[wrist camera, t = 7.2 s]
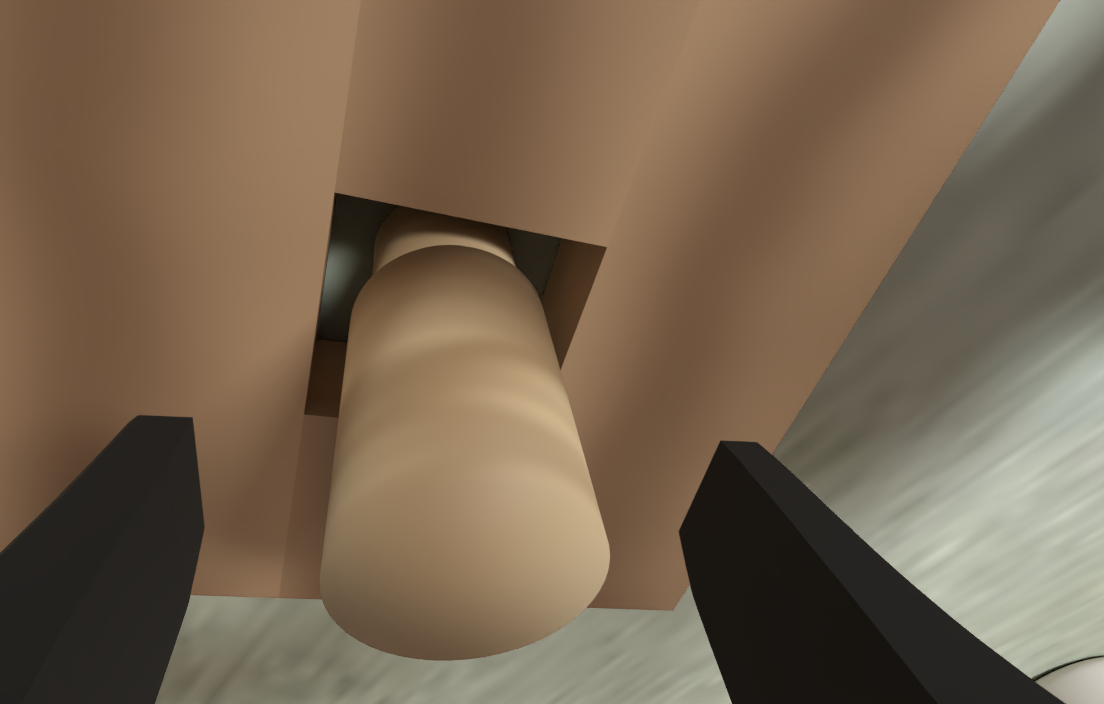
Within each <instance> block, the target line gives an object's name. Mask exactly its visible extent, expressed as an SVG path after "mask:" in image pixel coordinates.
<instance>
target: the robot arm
mask: <svg viewBox="0 0 1104 704" xmlns="http://www.w3.org/2000/svg"><path fill="white" fill-rule="evenodd" d="M204 529H205V525H204V516H203V507H202V498H201V488H200V479H199V470H198V461H197V452H196V443H195V433H194V424H193V417H174V416H151V415H138V416H136V417H135V418H133V419H132V420H131V421H129V422H128V423H127V424H126V426H125V427H124V428H123V429H122V430H121V431H120V432H119V433H118V434H117V435H116V436H115V437H114V438H113V439H112V441H111V442H110V443H109V444H108V445H107V446H106V447H105V448H104V449H103V450H102V451H101V452H100V453H99V454H98V455H97V457H96V458H95V459H94V460H93V461H92V462H91V463H90V464H89V465H88V466H87V467H86V468H85V469H84V470H83V471H82V472H81V473H80V474H79V475H78V476H77V477H76V478H75V479H74V480H73V481H72V483H71V484H70V485H69V486H68V487H67V488H66V489H65V490H64V491H63V492H62V493H61V494H60V495H59V496H58V497H57V498H56V499H55V500H54V501H53V502H52V503H51V504H50V505H49V506H48V507H47V508H46V509H45V510H44V511H43V512H42V513H41V514H40V515H39V516H37V517H36V518H35V519H34V520H33V521H32V522H31V523H30V524H29V525H28V526H27V527H26V528H25V529H24V530H23V531H22V532H21V533H20V534H19V535H18V536H17V537H16V538H15V539H14V540H13V541H12V542H11V543H10V544H9V545H8V546H7V547H6V548H4V549H3V550H2V551H1V552H0V704H155V701H156V698H157V695H158V692H159V689H160V686H161V684H162V681H163V678H164V675H165V672H166V669H167V666H168V663H169V660H170V657H171V654H172V651H173V648H174V645H175V642H176V639H177V636H178V633H179V631H180V628H181V625H182V622H183V619H184V616H185V613H186V609H187V606H188V603H189V599H190V594H191V590H192V585H193V581H194V576H195V572H196V567H197V563H198V558H199V553H200V548H201V543H202V538H203V534H204ZM679 536H680V541H681V546H682V551H683V555H684V560H685V565H686V569H687V573H688V578H689V582H690V586H691V590H692V594H693V597H694V600H695V603H696V606H697V609H698V612H699V615H700V617H701V620H702V623H703V626H704V628H705V631H706V634H707V637H708V639H709V642H710V645H711V648H712V650H713V653H714V656H715V659H716V661H717V664H718V667H719V669H720V672H721V675H722V677H723V680H724V683H725V685H726V688H727V691H728V694H729V696H730V699H731V702H732V704H1066V703H1064V702H1063V701H1061V700H1060V699H1059V698H1057V697H1056V696H1054V695H1053V694H1052V693H1050V692H1049V691H1047V690H1046V689H1044V688H1043V687H1042V686H1040V685H1039V684H1037V683H1036V682H1035V681H1033V680H1032V679H1031V678H1029V677H1028V676H1027V675H1025V674H1024V673H1023V672H1021V671H1020V670H1019V669H1017V668H1016V667H1015V666H1013V665H1012V664H1011V663H1009V662H1008V661H1007V660H1005V659H1004V658H1003V657H1001V656H1000V655H999V654H997V653H996V652H995V651H993V650H992V649H991V648H990V647H988V646H987V645H986V644H984V643H983V642H982V641H980V640H979V639H978V638H976V637H975V636H974V635H973V634H971V633H970V632H969V631H968V630H966V629H965V628H964V627H963V626H961V625H960V624H959V623H958V622H956V621H955V620H954V619H953V618H952V617H950V616H949V615H948V614H947V613H946V612H944V611H943V610H942V609H941V608H940V607H939V606H937V605H936V604H935V603H934V602H933V601H931V600H930V599H929V598H928V597H927V596H926V595H924V594H923V593H922V592H921V591H920V590H918V589H917V588H916V587H915V586H914V585H913V584H911V583H910V582H909V581H908V580H907V579H906V578H905V577H903V576H902V575H901V574H900V573H899V572H898V571H897V570H896V569H894V568H893V567H892V566H891V565H890V564H889V563H888V562H887V561H885V560H884V559H883V558H882V557H881V556H880V555H879V554H878V553H877V552H876V551H874V550H873V549H872V548H871V547H870V546H869V545H868V544H867V543H866V542H865V541H864V540H862V539H861V538H860V537H859V536H858V535H857V534H856V533H855V532H854V531H853V530H852V529H851V528H850V527H849V526H847V525H846V524H845V523H844V522H843V521H842V520H841V519H840V518H839V517H838V516H837V515H836V514H835V513H834V512H833V511H832V510H830V509H829V508H828V507H827V506H826V505H825V504H824V503H823V502H822V501H821V500H820V499H819V498H818V497H817V496H816V495H815V494H814V493H813V492H811V491H810V490H809V489H808V488H807V487H806V486H805V485H804V484H803V483H802V482H801V481H800V480H799V479H798V478H797V477H796V476H795V475H793V474H792V473H791V472H790V471H789V470H788V469H787V468H786V467H785V466H784V465H783V464H782V463H781V462H779V461H778V460H777V459H776V458H775V457H774V456H773V455H772V454H771V453H769V452H768V451H767V450H766V449H765V448H764V447H762V446H761V445H760V444H759V443H758V442H745V441H722V440H720V442H719V445H718V447H717V449H716V451H715V453H714V455H713V458H712V460H711V462H710V464H709V466H708V469H707V471H706V473H705V475H704V477H703V479H702V482H701V484H700V486H699V488H698V490H697V492H696V495H695V497H694V499H693V501H692V503H691V505H690V508H689V510H688V512H687V514H686V516H685V518H684V521H683V523H682V525H681V527H680V529H679Z"/></svg>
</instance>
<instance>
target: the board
mask: <svg viewBox="0 0 1104 704" xmlns="http://www.w3.org/2000/svg"><path fill="white" fill-rule="evenodd" d="M1059 2H1060V0H0V552H1V551H2V550H3V549H4V548H6V547H7V546H8V545H9V544H10V543H11V542H12V541H13V540H14V539H15V538H16V537H17V536H18V535H19V534H20V533H21V532H22V531H23V530H24V529H25V528H26V527H27V526H28V525H29V524H30V523H31V522H32V521H33V520H34V519H35V518H36V517H37V516H39V515H40V514H41V513H42V512H43V511H44V510H45V509H46V508H47V507H48V506H49V505H50V504H51V503H52V502H53V501H54V500H55V499H56V498H57V497H58V496H59V495H60V494H61V493H62V492H63V491H64V490H65V489H66V488H67V487H68V486H69V485H70V484H71V483H72V481H73V480H74V479H75V478H76V477H77V476H78V475H79V474H80V473H81V472H82V471H83V470H84V469H85V468H86V467H87V466H88V465H89V464H90V463H91V462H92V461H93V460H94V459H95V458H96V457H97V455H98V454H99V453H100V452H101V451H102V450H103V449H104V448H105V447H106V446H107V445H108V444H109V443H110V442H111V441H112V439H113V438H114V437H115V436H116V435H117V434H118V433H119V432H120V431H121V430H122V429H123V428H124V427H125V426H126V424H127V423H128V422H129V421H131V420H132V419H133V418H135V417H136V416H138V415H151V416H174V417H193V424H194V433H195V443H196V452H197V461H198V470H199V479H200V488H201V498H202V507H203V516H204V525H205V529H204V534H203V538H202V543H201V548H200V553H199V558H198V563H197V567H196V572H195V576H194V581H193V585H192V590H191V594H190V595H207V596H238V597H269V598H301V599H322V597H321V593H320V581H319V579H320V570H321V562H322V554H323V545H324V537H325V528H326V520H327V512H328V503H329V495H330V487H331V478H332V470H333V461H334V453H335V445H336V436H337V428H338V419H339V411H340V403H341V394H342V386H343V377H344V369H345V361H346V352H347V344H348V343H345V342H338V341H331V340H323V339H316V338H317V331H318V324H319V317H320V310H321V303H322V295H323V288H324V281H325V274H326V267H327V260H328V252H329V245H330V238H331V231H332V224H333V217H334V209H335V202H336V195H337V193H340V194H345V195H350V196H355V197H360V198H365V199H370V200H375V201H380V202H385V203H390V204H395V205H400V206H405V207H410V208H415V209H420V210H425V211H430V212H435V213H440V214H445V215H450V216H455V217H460V218H465V219H470V220H475V221H480V222H484V223H489V224H494V225H499V226H504V227H509V228H514V229H519V230H524V231H529V232H534V233H539V234H544V235H549V236H554V237H559V238H562V240H561V243H560V246H559V249H558V252H557V255H556V258H555V261H554V264H553V267H552V270H551V273H550V276H549V279H548V282H547V285H546V288H545V291H544V294H543V297H542V300H541V303H542V306H543V310H544V313H545V317H546V320H547V324H548V328H549V331H550V335H551V338H552V342H553V346H554V349H555V353H556V356H557V360H558V364H559V367H560V371H561V374H562V378H563V381H564V385H565V389H566V392H567V396H568V399H569V403H570V407H571V410H572V414H573V417H574V421H575V425H576V428H577V432H578V435H579V439H580V442H581V446H582V450H583V453H584V457H585V460H586V464H587V468H588V471H589V475H590V478H591V482H592V486H593V489H594V493H595V496H596V500H597V504H598V507H599V511H600V514H601V518H602V521H603V525H604V529H605V532H606V536H607V539H608V543H609V549H610V563H609V569H608V573H607V576H606V579H605V581H604V583H603V585H602V587H601V589H600V591H599V592H598V594H597V595H596V597H595V598H594V599H593V601H592V602H591V603H590V604H589V605H588V606H587V607H586V608H613V609H644V610H674V608H675V607H676V605H677V603H678V602H679V600H680V599H681V597H682V596H683V594H684V592H685V591H686V589H687V588H688V586H689V585H690V582H689V578H688V573H687V569H686V565H685V560H684V555H683V551H682V546H681V541H680V536H679V529H680V527H681V525H682V523H683V521H684V518H685V516H686V514H687V512H688V510H689V508H690V505H691V503H692V501H693V499H694V497H695V495H696V492H697V490H698V488H699V486H700V484H701V482H702V479H703V477H704V475H705V473H706V471H707V469H708V466H709V464H710V462H711V460H712V458H713V455H714V453H715V451H716V449H717V447H718V445H719V442H720V440H722V441H745V442H758V443H759V444H760V445H761V446H762V447H764V448H765V449H766V450H767V451H768V452H769V453H771V454H773V452H774V451H775V449H776V448H777V446H778V444H779V443H780V441H781V440H782V438H783V436H784V435H785V433H786V432H787V430H788V429H789V427H790V425H791V424H792V422H793V421H794V419H795V418H796V416H797V414H798V413H799V411H800V410H801V408H802V407H803V405H804V403H805V402H806V400H807V399H808V397H809V396H810V394H811V392H812V391H813V389H814V388H815V386H816V384H817V383H818V381H819V380H820V378H821V377H822V375H823V373H824V372H825V370H826V369H827V367H828V366H829V364H830V362H831V361H832V359H833V358H834V356H835V355H836V353H837V351H838V350H839V348H840V347H841V345H842V344H843V342H844V340H845V339H846V337H847V336H848V334H849V332H850V331H851V329H852V328H853V326H854V325H855V323H856V321H857V320H858V318H859V317H860V315H861V314H862V312H863V310H864V309H865V307H866V306H867V304H868V303H869V301H870V299H871V298H872V296H873V295H874V293H875V292H876V290H877V288H878V287H879V285H880V284H881V282H882V281H883V279H884V277H885V276H886V274H887V273H888V271H889V269H890V268H891V266H892V265H893V263H894V262H895V260H896V258H897V257H898V255H899V254H900V252H901V251H902V249H903V247H904V246H905V244H906V243H907V241H908V240H909V238H910V236H911V235H912V233H913V232H914V230H915V229H916V227H917V225H918V224H919V222H920V221H921V219H922V217H923V216H924V214H925V213H926V211H927V210H928V208H929V206H930V205H931V203H932V202H933V200H934V199H935V197H936V195H937V194H938V192H939V191H940V189H941V188H942V186H943V184H944V183H945V181H946V180H947V178H948V177H949V175H950V173H951V172H952V170H953V169H954V167H955V165H956V164H957V162H958V161H959V159H960V158H961V156H962V154H963V153H964V151H965V150H966V148H967V147H968V145H969V143H970V142H971V140H972V139H973V137H974V136H975V134H976V132H977V131H978V129H979V128H980V126H981V125H982V123H983V121H984V120H985V118H986V117H987V115H988V113H989V112H990V110H991V109H992V107H993V106H994V104H995V102H996V101H997V99H998V98H999V96H1000V95H1001V93H1002V91H1003V90H1004V88H1005V87H1006V85H1007V84H1008V82H1009V80H1010V79H1011V77H1012V76H1013V74H1014V73H1015V71H1016V69H1017V68H1018V66H1019V65H1020V63H1021V61H1022V60H1023V58H1024V57H1025V55H1026V54H1027V52H1028V50H1029V49H1030V47H1031V46H1032V44H1033V43H1034V41H1035V39H1036V38H1037V36H1038V35H1039V33H1040V32H1041V30H1042V28H1043V27H1044V25H1045V24H1046V22H1047V21H1048V19H1049V17H1050V16H1051V14H1052V13H1053V11H1054V10H1055V8H1056V6H1057V5H1058V3H1059Z"/></svg>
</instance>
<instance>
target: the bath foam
mask: <svg viewBox="0 0 1104 704" xmlns="http://www.w3.org/2000/svg"><path fill="white" fill-rule="evenodd" d="M1035 682H1036V683H1037V684H1039V685H1040V686H1042V687H1043V688H1044V689H1046V690H1047V691H1049V692H1050V693H1052V694H1053V695H1054V696H1056V697H1057V698H1059V699H1060V700H1061V701H1063V702H1064V703H1066V704H1104V657H1100V658H1093V659H1089V660H1084V661H1081V662H1077V663H1074V664H1071V665H1068V666H1066V667H1063V668H1061V669H1058V670H1056V671H1054V672H1052V673H1049V674H1047V675H1045V676H1043V677H1042V678H1040V679H1038V680H1036V681H1035Z"/></svg>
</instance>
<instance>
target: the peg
mask: <svg viewBox="0 0 1104 704" xmlns="http://www.w3.org/2000/svg"><path fill="white" fill-rule="evenodd" d="M609 563H610V549H609V543H608V539H607V536H606V532H605V529H604V525H603V521H602V518H601V514H600V511H599V507H598V504H597V500H596V496H595V493H594V489H593V486H592V482H591V478H590V475H589V471H588V468H587V464H586V460H585V457H584V453H583V450H582V446H581V442H580V439H579V435H578V432H577V428H576V425H575V421H574V417H573V414H572V410H571V407H570V403H569V399H568V396H567V392H566V389H565V385H564V381H563V378H562V374H561V371H560V367H559V364H558V360H557V356H556V353H555V349H554V346H553V342H552V338H551V335H550V331H549V328H548V324H547V320H546V317H545V313H544V310H543V306H542V303H541V300H540V297H539V295H538V293H537V291H536V289H535V288H534V286H533V285H532V283H531V282H530V280H529V279H528V278H527V277H526V276H525V275H524V274H523V273H522V272H521V271H520V270H519V269H518V268H516V266H515V262H514V258H513V254H512V250H511V245H510V241H509V238H508V235H507V232H506V230H505V228H504V226H499V225H494V224H489V223H484V222H480V221H475V220H470V219H465V218H460V217H455V216H450V215H445V214H440V213H435V212H430V211H425V210H420V209H415V208H410V207H405V206H400V205H399V206H398V207H397V208H396V209H394V210H393V211H392V212H391V213H390V214H389V215H388V216H387V218H386V219H385V221H384V222H383V223H382V225H381V227H380V229H379V231H378V234H377V237H376V241H375V247H374V259H373V271H372V277H371V278H370V279H369V280H368V281H367V282H366V284H365V285H364V286H363V288H362V289H361V291H360V292H359V294H358V296H357V298H356V300H355V303H354V306H353V309H352V313H351V319H350V327H349V335H348V344H347V352H346V361H345V369H344V377H343V386H342V394H341V403H340V411H339V419H338V428H337V436H336V445H335V453H334V461H333V470H332V478H331V487H330V495H329V503H328V512H327V520H326V528H325V537H324V545H323V554H322V562H321V570H320V579H319V581H320V593H321V597H322V600H323V604H324V605H325V607H326V609H327V611H328V613H329V615H330V616H331V617H332V618H333V620H334V621H335V622H336V623H337V625H339V626H340V627H341V628H342V629H343V630H344V631H345V632H346V633H348V634H349V635H351V636H352V637H354V638H355V639H357V640H358V641H360V642H362V643H364V644H366V645H368V646H370V647H373V648H375V649H378V650H381V651H384V652H387V653H390V654H394V655H398V656H403V657H408V658H414V659H424V660H465V659H473V658H480V657H486V656H491V655H496V654H501V653H504V652H508V651H511V650H515V649H518V648H520V647H523V646H526V645H528V644H531V643H533V642H536V641H538V640H540V639H542V638H544V637H546V636H548V635H550V634H552V633H554V632H555V631H557V630H559V629H560V628H562V627H563V626H565V625H566V624H568V623H569V622H571V621H572V620H573V619H574V618H575V617H577V616H578V615H579V614H580V613H581V612H582V611H583V610H584V609H585V608H586V607H587V606H588V605H589V604H590V603H591V602H592V601H593V599H594V598H595V597H596V595H597V594H598V592H599V591H600V589H601V587H602V585H603V583H604V581H605V579H606V576H607V573H608V569H609Z"/></svg>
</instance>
